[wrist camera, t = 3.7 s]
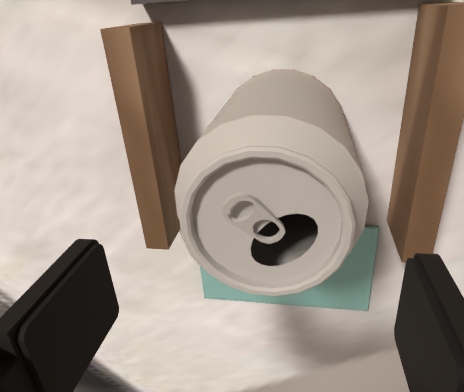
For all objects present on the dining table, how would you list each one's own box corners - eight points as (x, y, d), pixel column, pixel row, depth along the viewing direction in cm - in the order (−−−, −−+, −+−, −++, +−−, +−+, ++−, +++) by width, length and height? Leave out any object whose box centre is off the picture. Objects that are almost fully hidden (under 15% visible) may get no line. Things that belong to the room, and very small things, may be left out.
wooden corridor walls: (451, 2, 19) (489, 3, 15) (410, 221, 25) (430, 263, 21) (137, 23, 22) (100, 29, 18) (169, 213, 28) (146, 248, 24)
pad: (378, 226, 25) (379, 229, 25) (367, 308, 29) (367, 311, 28) (195, 219, 28) (194, 221, 27) (205, 295, 31) (204, 298, 31)
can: (279, 201, 26) (261, 340, 15) (201, 126, 24) (120, 223, 14) (370, 130, 22) (425, 245, 12) (285, 37, 21) (264, 76, 10)
